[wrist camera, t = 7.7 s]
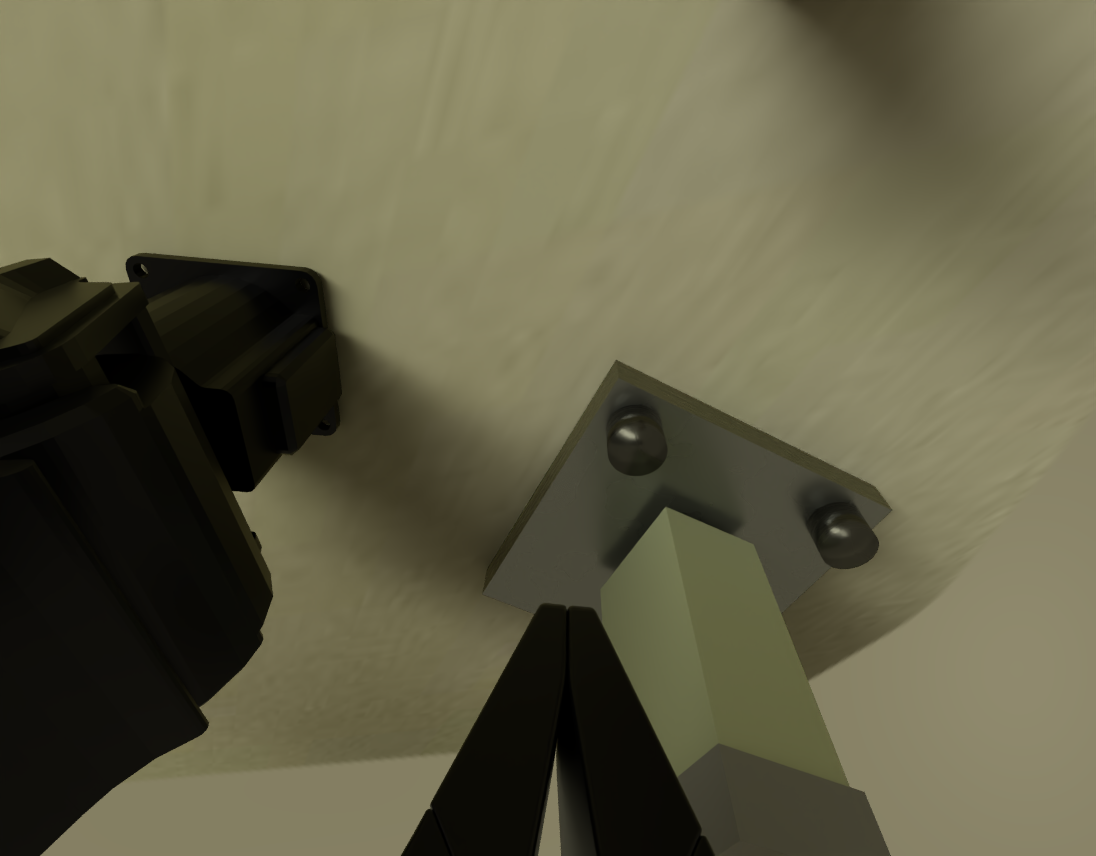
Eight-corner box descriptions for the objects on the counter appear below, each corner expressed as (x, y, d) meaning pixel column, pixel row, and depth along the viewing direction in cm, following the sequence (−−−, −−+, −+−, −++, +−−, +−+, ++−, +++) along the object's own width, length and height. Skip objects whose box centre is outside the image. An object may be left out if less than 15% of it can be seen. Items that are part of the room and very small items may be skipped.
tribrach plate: (487, 569, 26) (476, 621, 24) (616, 360, 21) (621, 398, 18) (703, 653, 29) (716, 709, 26) (874, 486, 23) (912, 536, 20)
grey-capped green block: (593, 590, 24) (612, 1005, 13) (664, 501, 21) (759, 928, 10) (683, 624, 24) (768, 1038, 14) (761, 542, 22) (939, 974, 11)
